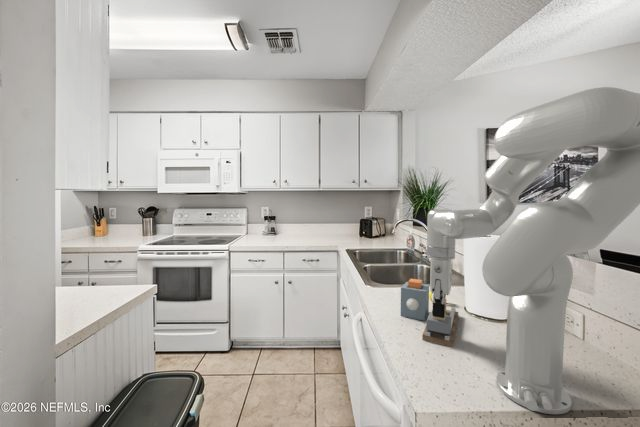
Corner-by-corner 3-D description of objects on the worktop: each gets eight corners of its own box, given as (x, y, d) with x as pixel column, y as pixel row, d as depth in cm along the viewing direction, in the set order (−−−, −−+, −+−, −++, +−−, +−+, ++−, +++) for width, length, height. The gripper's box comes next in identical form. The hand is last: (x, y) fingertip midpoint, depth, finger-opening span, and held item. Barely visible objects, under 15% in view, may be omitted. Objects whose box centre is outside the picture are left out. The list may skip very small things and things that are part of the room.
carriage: (449, 334, 79) (450, 299, 78) (426, 329, 82) (427, 295, 81) (451, 325, 84) (451, 292, 83) (429, 321, 87) (430, 289, 86)
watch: (431, 304, 109) (430, 289, 109) (428, 302, 112) (427, 287, 112) (446, 303, 109) (446, 288, 109) (443, 301, 112) (443, 286, 112)
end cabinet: (424, 321, 94) (425, 291, 93) (400, 316, 98) (400, 288, 97) (428, 312, 101) (429, 284, 101) (405, 308, 105) (406, 281, 105)
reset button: (420, 291, 97) (420, 283, 96) (408, 289, 98) (408, 281, 98) (422, 288, 100) (422, 280, 100) (410, 286, 102) (410, 278, 102)
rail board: (452, 346, 78) (453, 337, 78) (422, 339, 82) (422, 330, 82) (458, 316, 98) (458, 308, 98) (433, 311, 102) (433, 304, 102)
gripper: (452, 259, 73) (451, 328, 74) (457, 248, 87) (455, 307, 88) (422, 256, 76) (420, 322, 77) (431, 246, 91) (429, 302, 92)
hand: (439, 313), depth 83 cm, fingers closed on carriage, 3 cm apart
